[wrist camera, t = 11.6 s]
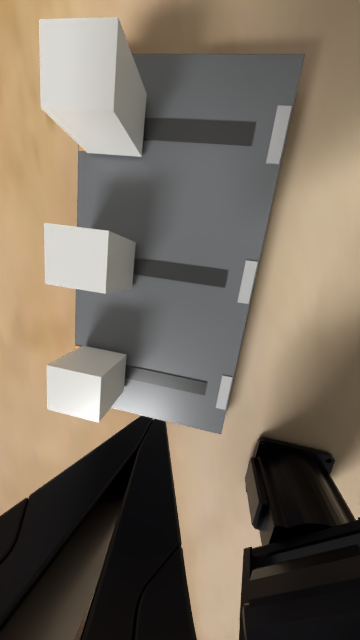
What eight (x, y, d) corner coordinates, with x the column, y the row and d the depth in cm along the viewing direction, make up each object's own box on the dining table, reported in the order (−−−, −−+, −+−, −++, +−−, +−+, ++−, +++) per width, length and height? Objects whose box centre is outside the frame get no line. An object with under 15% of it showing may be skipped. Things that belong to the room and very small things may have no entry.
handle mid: (135, 242, 15) (108, 230, 11) (131, 289, 16) (105, 293, 12) (86, 235, 16) (44, 223, 12) (84, 282, 16) (45, 283, 13)
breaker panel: (291, 85, 14) (305, 52, 12) (220, 418, 20) (221, 435, 18) (96, 81, 15) (78, 52, 13) (86, 387, 21) (73, 399, 19)
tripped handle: (146, 93, 13) (118, 17, 9) (141, 156, 14) (113, 110, 10) (89, 92, 14) (39, 19, 10) (87, 153, 14) (40, 107, 10)
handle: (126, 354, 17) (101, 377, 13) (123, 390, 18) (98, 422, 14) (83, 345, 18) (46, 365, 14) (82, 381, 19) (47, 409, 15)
